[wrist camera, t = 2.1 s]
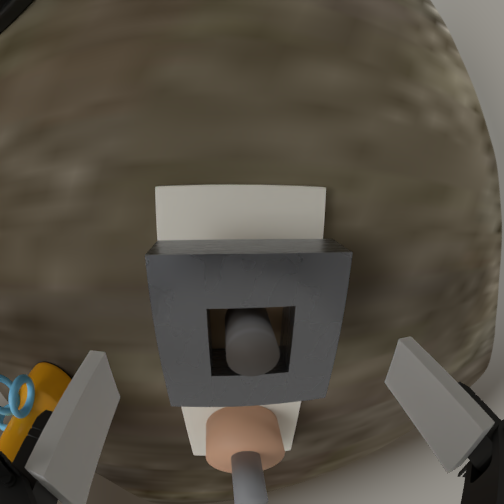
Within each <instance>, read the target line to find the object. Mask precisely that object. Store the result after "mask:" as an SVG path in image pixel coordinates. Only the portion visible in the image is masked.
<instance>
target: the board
mask: <svg viewBox="0 0 504 504" xmlns="http://www.w3.org/2000/svg"><path fill="white" fill-rule="evenodd" d="M155 197H156V222H157V239H158V240H220V239H323V232H324V217H325V200H326V188H325V187H318V186H297V185H265V184H201V185H169V186H157V187H155ZM300 404H301V401H298V402H289V403H280V404H269V405H258V406H262V407H265V408H267V409H269V410H270V411H272V412H273V413H274V414H275V415H276V417H277V420H278V425H279V429H280V433H281V437H282V441H283V445H284V450H285V451H288V450H291V446H292V442H293V437H294V433H295V428H296V424H297V419H298V414H299V409H300ZM222 408H224V407H182V411H183V416H184V420H185V424H186V428H187V432H188V436H189V440H190V443H191V447H192V451H193V454H194V455H206V423H207V420H208V418H209V417H210V416H211V415H212V414H213V413H214V412H216V411H217V410H219V409H222Z"/></svg>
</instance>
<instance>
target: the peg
mask: <svg viewBox="0 0 504 504" xmlns="http://www.w3.org/2000/svg"><path fill="white" fill-rule="evenodd" d="M284 455H285V450H284V445H283V441H282V437H281V433H280V429H279V425H278V420H277V417H276V415H275V414H274V413H273V412H272V411H270V410H269V409H267V408H265V407H262V406H258V405H256V406H238V407H224V408H222V409H219V410H217V411H216V412H214V413H213V414H212V415H211V416H210V417H209V418H208V420H207V423H206V460H207V462H208V463H209V464H210V465H211V466H212V467H214V468H216V469H218V470H221V471H224V472H229V473H232V478H233V490H234V501H235V504H266V503H267V502H268V498H267V492H266V486H265V481H264V475H263V470H265V469H268V468H270V467H272V466H274V465H276V464H277V463H279V462H280V461H281V460H282V459H283V457H284Z"/></svg>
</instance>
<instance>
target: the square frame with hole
mask: <svg viewBox="0 0 504 504" xmlns="http://www.w3.org/2000/svg"><path fill="white" fill-rule="evenodd" d="M352 253H353V252H352V251H350V250H349V249H347V248H345V247H344V246H342V245H341V244H339V243H338V242H336V241H335V240H333V239H220V240H158V241H157V242H156V243H155V244H154V245H153V247H152V248H151V249H150V250H149V251H148V252H147V253H146V254H145V260H146V269H147V278H148V287H149V294H150V302H151V308H152V315H153V321H154V327H155V333H156V339H157V344H158V350H159V355H160V360H161V365H162V369H163V374H164V378H165V383H166V387H167V391H168V395H169V399H170V403H171V406H180V407H238V406H256V405H269V404H280V403H289V402H298V401H305V400H312V399H319V398H325V397H326V393H327V389H328V385H329V381H330V377H331V373H332V368H333V364H334V360H335V355H336V350H337V346H338V341H339V336H340V331H341V325H342V320H343V314H344V309H345V303H346V296H347V290H348V283H349V276H350V269H351V261H352ZM264 307H283V311H282V324H281V337H280V346H278V347H279V351H280V357H279V361H278V363H277V364H276V366H275V367H274V368H273V369H272V370H270V371H269V372H267V373H265V374H262V375H259V376H243V375H240V374H237V373H236V372H234V371H233V370H232V369H231V368H230V367H229V366H228V364H227V360H226V348H218V349H212V340H211V324H210V309H231V308H264Z"/></svg>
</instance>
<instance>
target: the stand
mask: <svg viewBox="0 0 504 504" xmlns="http://www.w3.org/2000/svg"><path fill="white" fill-rule="evenodd" d="M282 311H283V307H264V308H231V309H210V324H211V340H212V349H218V348H226V360H227V364H228V366H229V367H230V368H231V369H232V370H233V371H234V372H236V373H237V374H240V375H243V376H259V375H262V374H265V373H267V372H269V371H270V370H272V369H273V368H274V367H275V366H276V364H277V363H278V361H279V357H280V351H279V347H278V346H280V337H281V324H282Z"/></svg>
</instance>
